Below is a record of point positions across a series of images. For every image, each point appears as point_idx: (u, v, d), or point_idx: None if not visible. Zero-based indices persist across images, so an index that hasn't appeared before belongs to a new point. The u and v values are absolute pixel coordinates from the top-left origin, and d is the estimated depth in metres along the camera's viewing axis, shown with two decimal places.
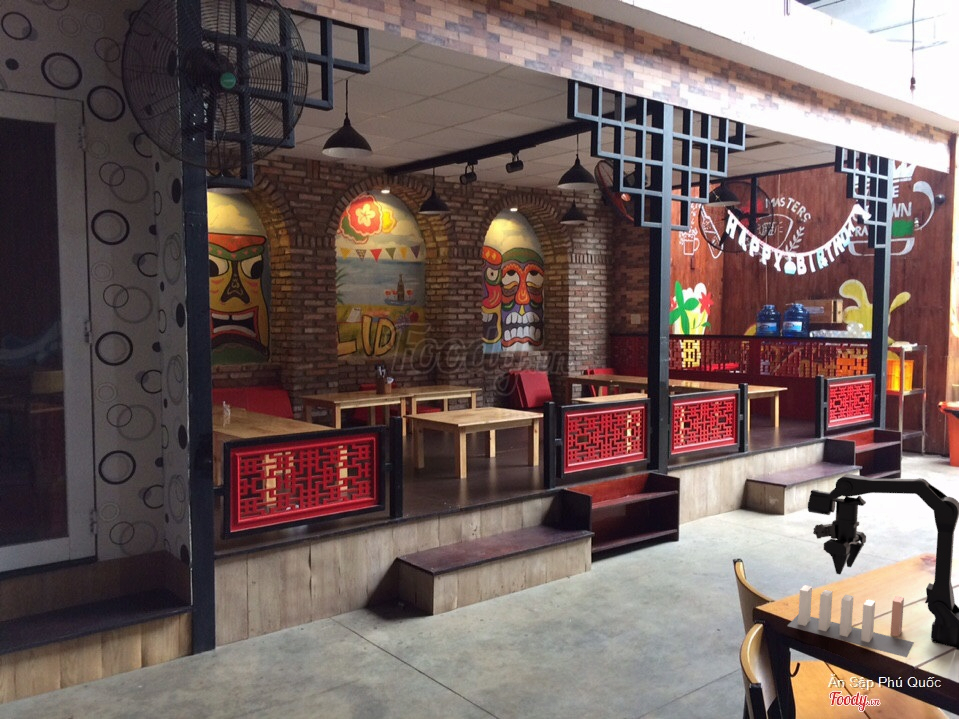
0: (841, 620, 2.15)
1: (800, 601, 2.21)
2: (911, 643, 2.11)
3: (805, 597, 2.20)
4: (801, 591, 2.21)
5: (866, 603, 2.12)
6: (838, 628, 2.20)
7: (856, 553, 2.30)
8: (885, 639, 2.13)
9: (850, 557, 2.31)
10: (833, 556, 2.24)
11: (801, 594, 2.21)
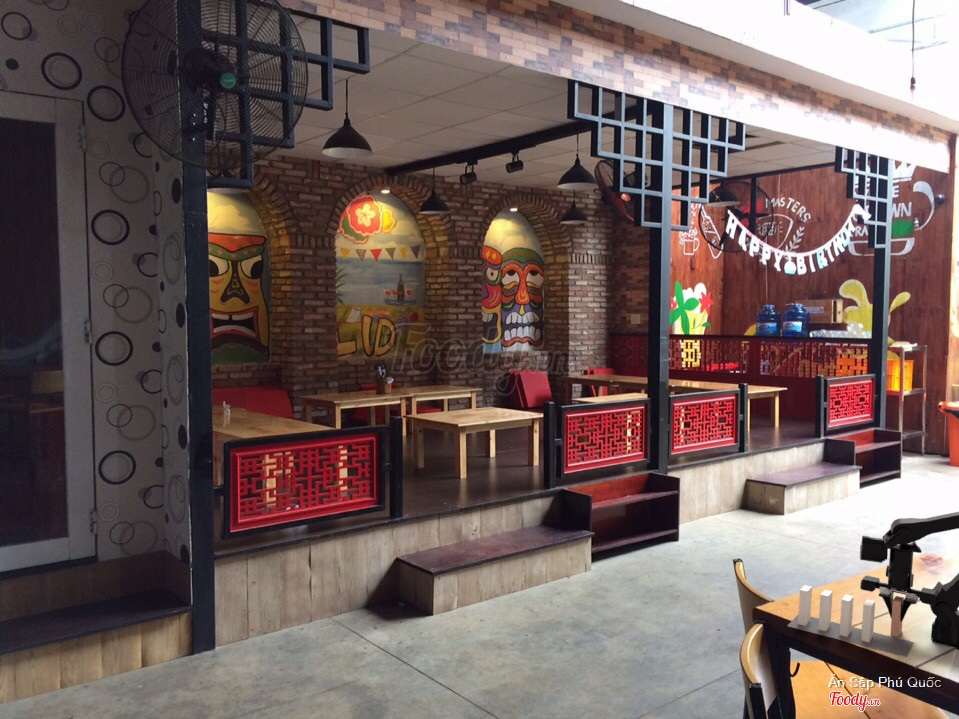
0: (841, 620, 2.15)
1: (800, 601, 2.21)
2: (911, 643, 2.11)
3: (805, 597, 2.20)
4: (801, 591, 2.21)
5: (866, 603, 2.12)
6: (838, 628, 2.20)
7: (902, 607, 2.15)
8: (885, 639, 2.13)
9: None
10: None
11: (801, 594, 2.21)
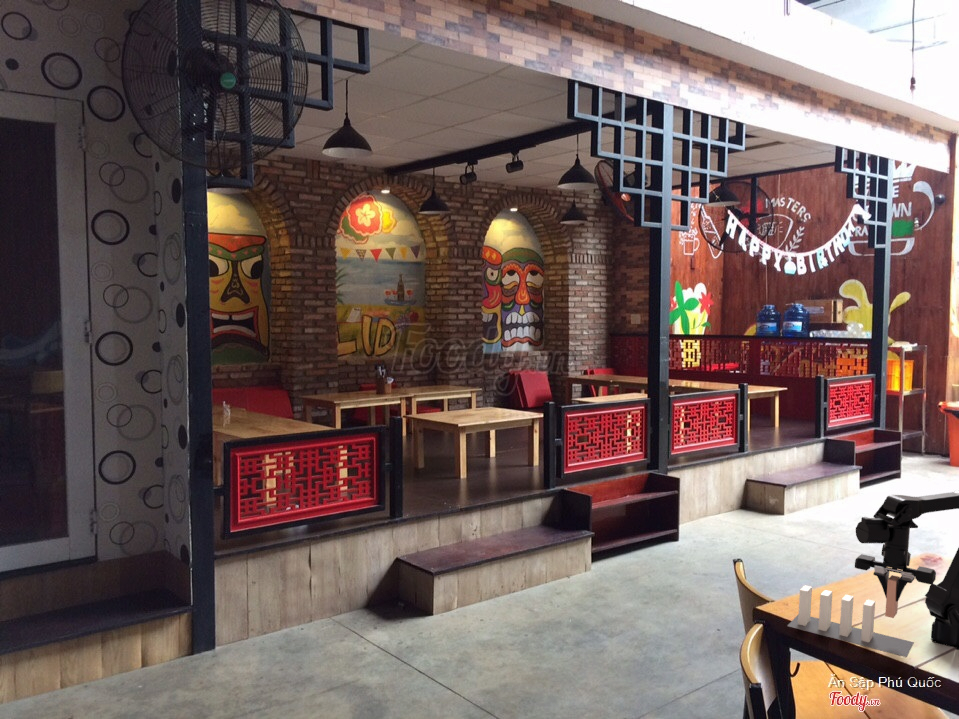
0: (841, 620, 2.15)
1: (800, 601, 2.21)
2: (911, 643, 2.11)
3: (805, 597, 2.20)
4: (801, 591, 2.21)
5: (866, 603, 2.12)
6: (838, 628, 2.20)
7: None
8: (885, 639, 2.13)
9: None
10: None
11: (801, 594, 2.21)
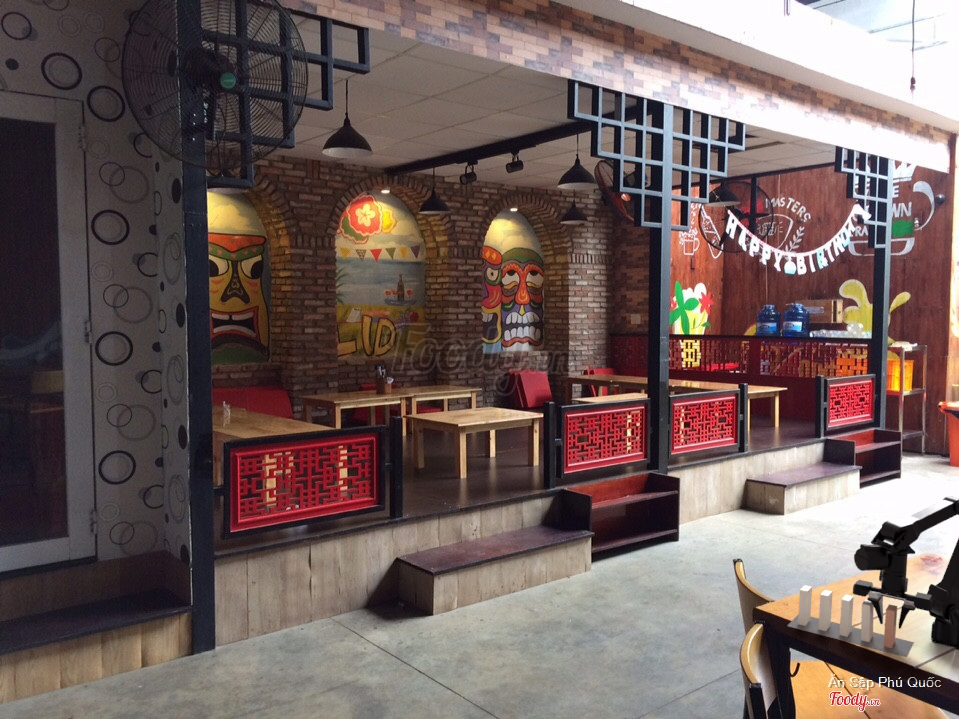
0: (841, 620, 2.15)
1: (800, 601, 2.21)
2: (911, 643, 2.11)
3: (805, 597, 2.20)
4: (801, 591, 2.21)
5: (864, 603, 2.12)
6: (838, 628, 2.20)
7: (900, 614, 2.07)
8: None
9: None
10: None
11: (801, 594, 2.21)
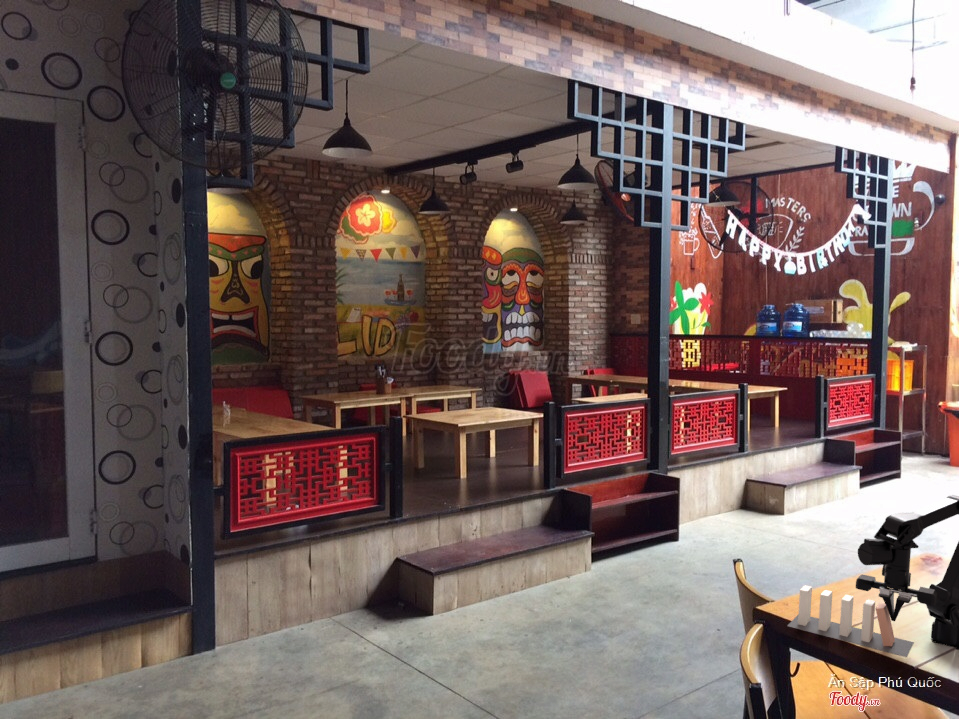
0: (841, 620, 2.15)
1: (800, 601, 2.21)
2: (911, 643, 2.11)
3: (805, 597, 2.20)
4: (801, 591, 2.21)
5: (866, 603, 2.12)
6: (838, 628, 2.20)
7: (895, 606, 2.07)
8: None
9: (894, 610, 2.09)
10: None
11: (801, 594, 2.21)
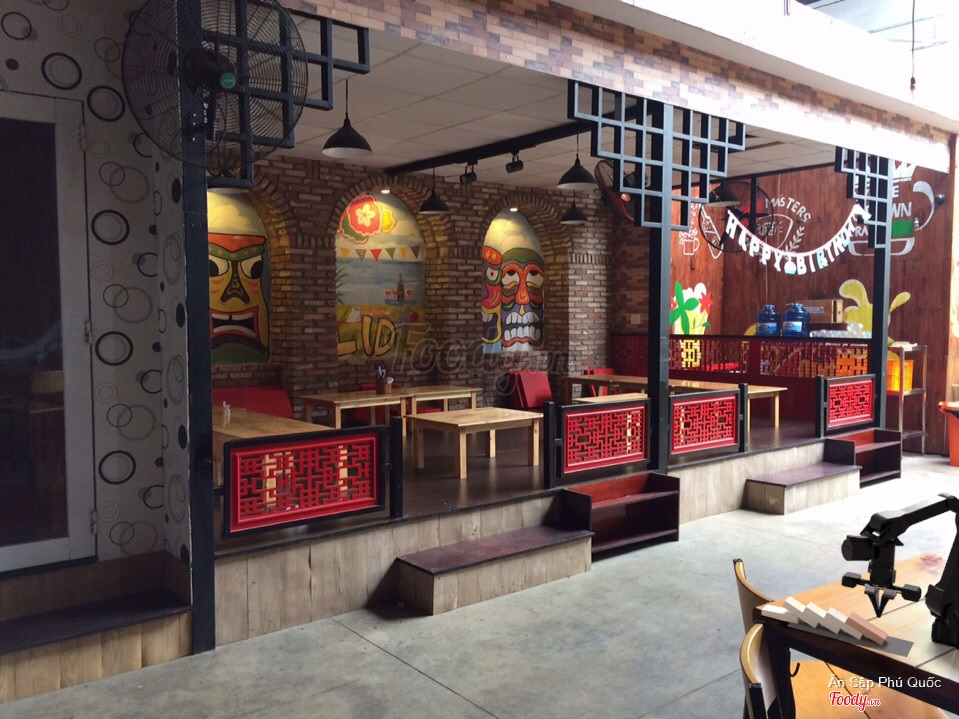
0: (822, 623, 2.18)
1: (773, 617, 2.26)
2: (911, 643, 2.11)
3: (768, 612, 2.27)
4: None
5: None
6: None
7: (880, 603, 2.09)
8: (885, 639, 2.13)
9: None
10: None
11: (766, 615, 2.27)
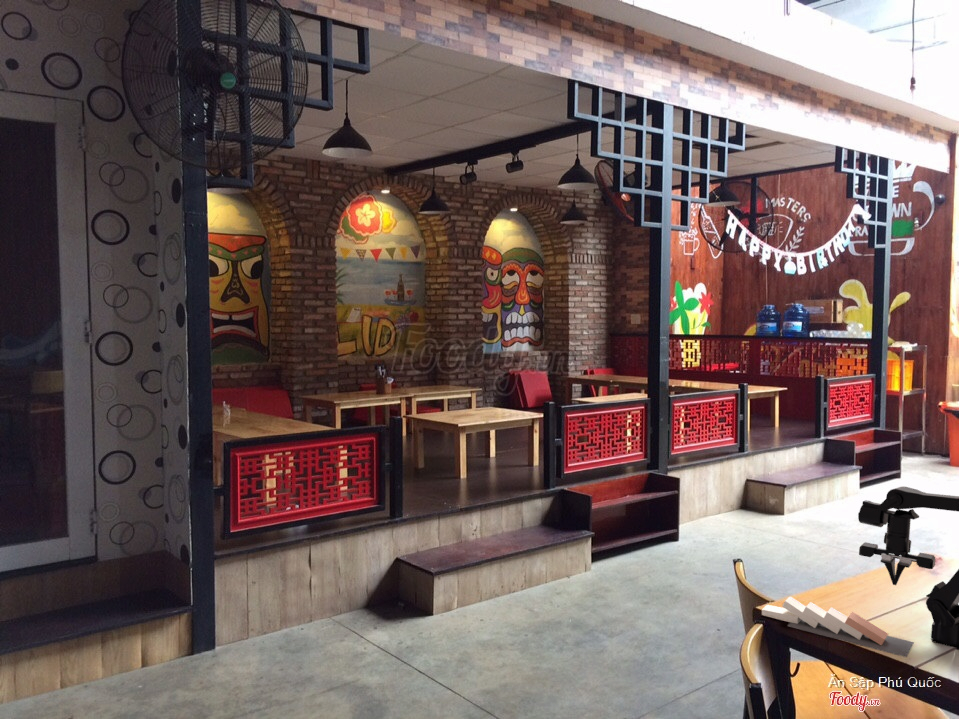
0: (822, 623, 2.18)
1: (773, 617, 2.26)
2: (911, 643, 2.11)
3: (768, 612, 2.27)
4: None
5: None
6: None
7: (896, 571, 2.21)
8: (885, 639, 2.13)
9: None
10: None
11: (766, 615, 2.27)
